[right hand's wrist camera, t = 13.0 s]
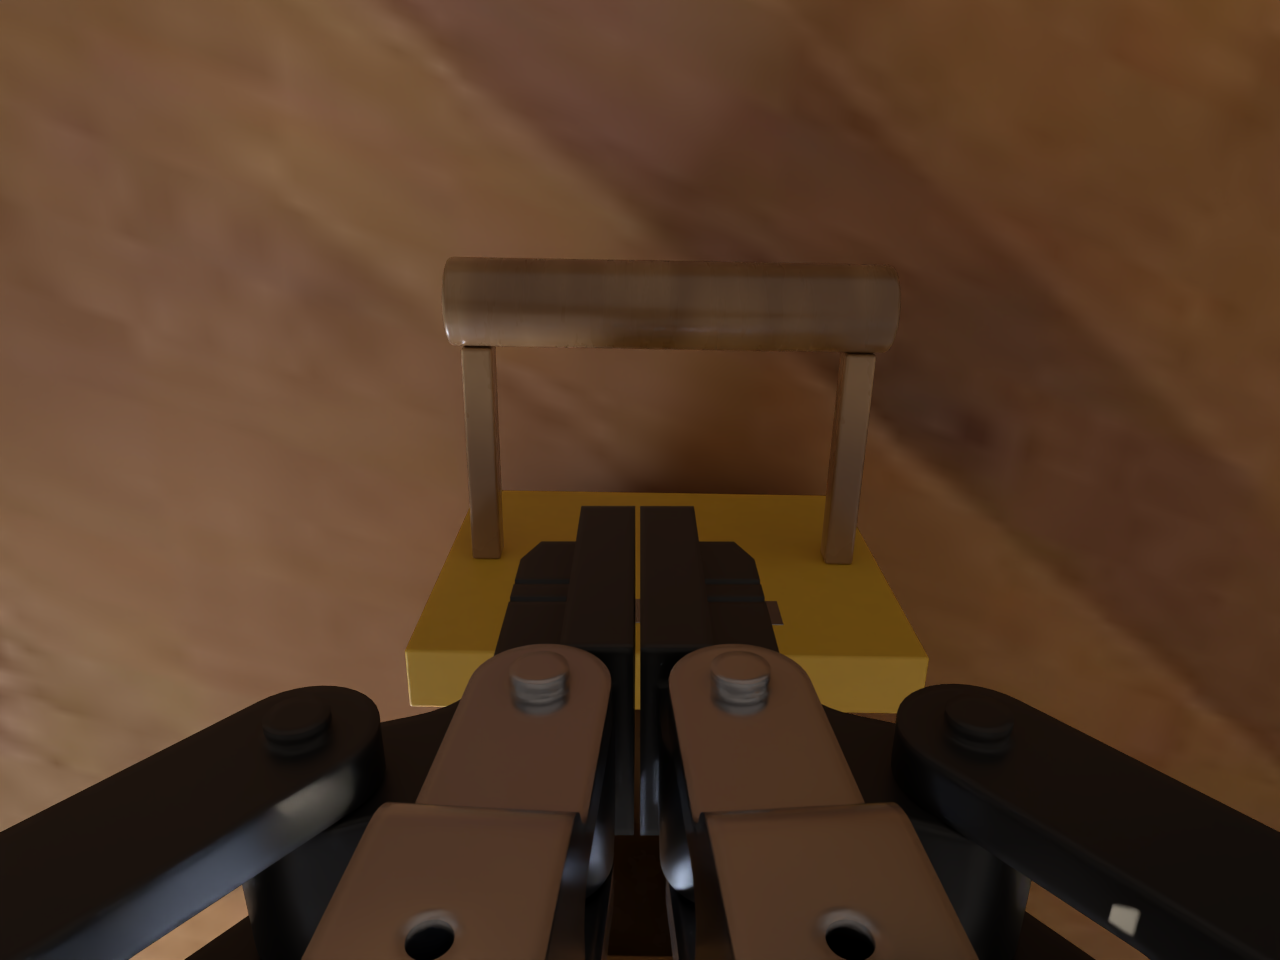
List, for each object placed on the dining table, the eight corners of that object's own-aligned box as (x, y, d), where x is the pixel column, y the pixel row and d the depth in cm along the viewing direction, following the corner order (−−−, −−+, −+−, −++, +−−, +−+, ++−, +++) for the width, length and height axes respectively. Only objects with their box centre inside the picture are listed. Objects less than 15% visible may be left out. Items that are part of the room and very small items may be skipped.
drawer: (463, 235, 20) (370, 290, 13) (867, 242, 20) (987, 302, 13) (504, 992, 29) (460, 1265, 22) (786, 995, 29) (833, 1269, 22)
